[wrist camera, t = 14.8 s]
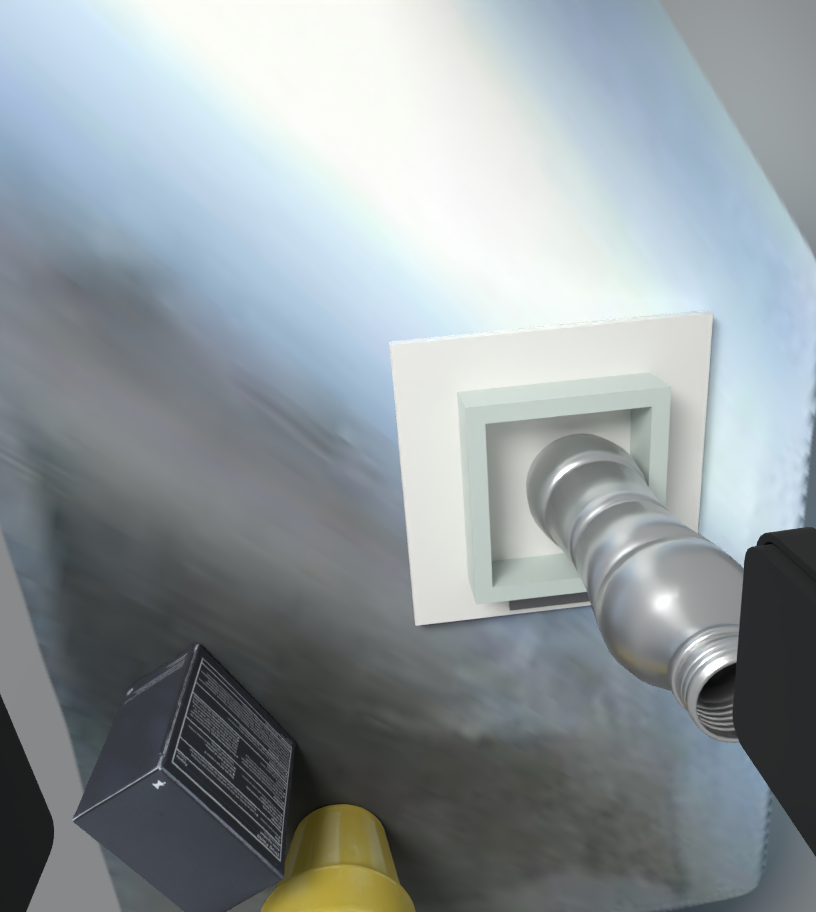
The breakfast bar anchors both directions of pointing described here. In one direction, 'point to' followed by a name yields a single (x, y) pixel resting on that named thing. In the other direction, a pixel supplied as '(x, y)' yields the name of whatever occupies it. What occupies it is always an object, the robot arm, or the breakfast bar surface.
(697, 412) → the charging dock
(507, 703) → the breakfast bar surface
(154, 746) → the small box
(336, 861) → the plant pot
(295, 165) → the breakfast bar surface
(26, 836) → the robot arm
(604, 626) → the metal bottle
